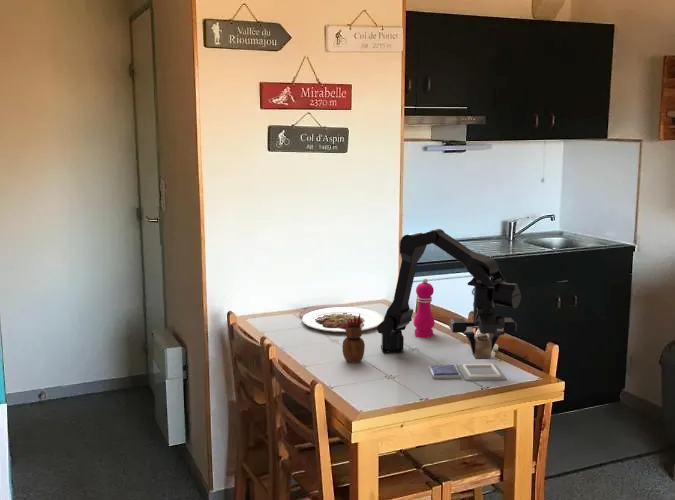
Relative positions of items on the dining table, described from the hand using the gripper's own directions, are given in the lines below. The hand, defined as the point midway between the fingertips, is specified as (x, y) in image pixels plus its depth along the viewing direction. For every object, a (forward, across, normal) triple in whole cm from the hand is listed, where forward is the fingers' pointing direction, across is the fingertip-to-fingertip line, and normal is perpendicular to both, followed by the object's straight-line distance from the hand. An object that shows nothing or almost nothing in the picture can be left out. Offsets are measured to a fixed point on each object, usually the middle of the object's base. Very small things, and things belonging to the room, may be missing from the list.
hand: (481, 353), depth 211 cm
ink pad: (+6, -11, 0) cm, 12 cm away
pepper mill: (+6, -11, +37) cm, 39 cm away
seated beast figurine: (+6, +5, +18) cm, 20 cm away
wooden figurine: (+6, -37, +12) cm, 39 cm away
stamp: (+1, 0, 0) cm, 1 cm away
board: (+6, 0, 0) cm, 6 cm away
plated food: (+7, -38, +53) cm, 66 cm away
